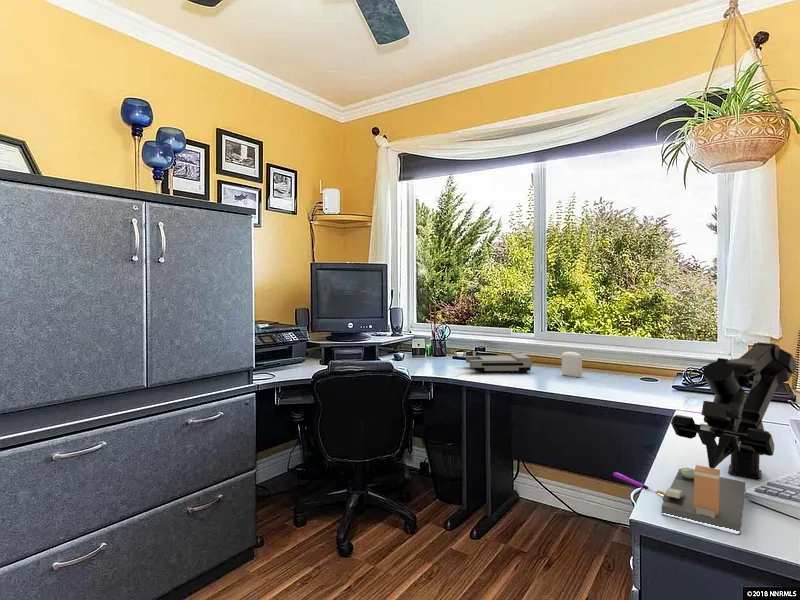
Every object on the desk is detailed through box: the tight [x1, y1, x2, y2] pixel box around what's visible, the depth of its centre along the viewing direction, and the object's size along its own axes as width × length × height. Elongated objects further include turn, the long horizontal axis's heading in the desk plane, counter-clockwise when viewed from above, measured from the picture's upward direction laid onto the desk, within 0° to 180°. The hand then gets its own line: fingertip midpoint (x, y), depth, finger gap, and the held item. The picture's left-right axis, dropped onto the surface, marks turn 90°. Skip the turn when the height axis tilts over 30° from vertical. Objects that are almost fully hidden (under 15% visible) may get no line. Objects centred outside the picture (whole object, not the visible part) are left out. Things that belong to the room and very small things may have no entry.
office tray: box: [465, 352, 533, 374], centre depth 258 cm, size 21×32×8 cm, turn 90°
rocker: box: [665, 487, 682, 498], centre depth 99 cm, size 4×2×1 cm, turn 142°
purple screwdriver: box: [612, 472, 666, 495], centre depth 109 cm, size 3×1×16 cm
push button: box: [680, 467, 695, 479], centre depth 109 cm, size 3×3×1 cm
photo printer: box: [561, 351, 583, 378], centre depth 241 cm, size 10×4×12 cm, turn 39°
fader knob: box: [693, 464, 721, 515], centre depth 93 cm, size 3×4×8 cm
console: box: [661, 468, 746, 532], centre depth 102 cm, size 24×13×3 cm, turn 142°
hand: (711, 467), depth 102 cm, fingers closed
